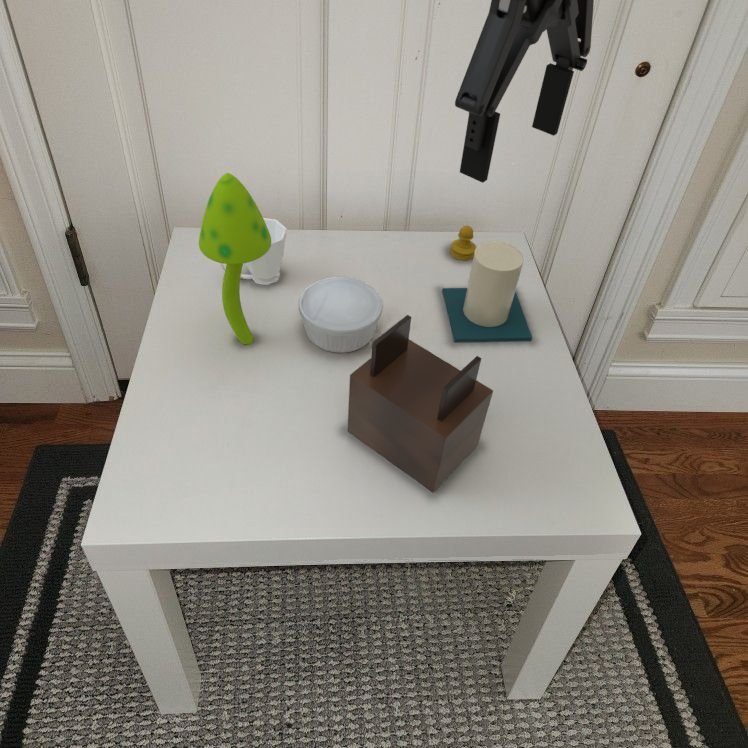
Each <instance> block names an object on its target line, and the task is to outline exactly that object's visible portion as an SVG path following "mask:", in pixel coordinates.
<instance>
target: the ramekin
mask: <svg viewBox="0 0 748 748" xmlns="http://www.w3.org/2000/svg"><path fill="white" fill-rule="evenodd" d="M297 306H298V312H299V315H300V318H301V319H302V323H303V327H304V330H305V333H306V336H307V337H308V338H309V340H310V341H311V342H312V343H313V344H314V345H316V347H318V348H320V349H322V350H324V351H326V352H327V351H328V352H331V353H341V354H343V353H350V352H354V351H357V350H359V349H361V348H364V346H367V344H369V343H370V341H372V339H373V337H374V336H375V333H376V330H377V327H378V324H379V321H380V320H381V318H382V315H383V310H384V303H383V300H382V296H381V295H380V293H379V292H378V290H376V289H375V288H374V287H373V286H372V285H370V284H369V283H366V282H365V281H362V280H361V279H356V278H354V277H353V278H352V277H346V276H331V277H326V278H322V279H320V280H316V281H315V282H313V283H311V284H310V285H308V286H307V287H306V288H304V289H303V291H302V292H301V293H300V295H299V298H298V305H297Z"/></svg>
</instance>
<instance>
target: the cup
mask: <svg viewBox="0 0 748 748" xmlns="http://www.w3.org/2000/svg"><path fill="white" fill-rule="evenodd" d="M263 219H264V221H265V223H266V226H267V228H268V230H269V233H270V236H271V246H270V249H269V250H268V251H267V253H266V254H264V255H263V256H262V257H260V258H258V259H256V260H254V261H251V262H248V263H245V264H246V267H247V269H248V272H250V274H247V273H246V274H245V273H242V272H241V277H240V279H244V280H253V282H254V283H256V285H265V286H269V285H272V284H275V283H277V282H279V279H280V277H281V272H280V270H281V269H282V264H283V258H284V255H285V254H284V253H285V246H286V239H287V230H288V228H287V227H286V226H284V224H283V223H281V222H280V221H279V220H278V219H277V218H276V219H275V218H269V217H268V218H267V217H263ZM219 265H220V267H221V269H222V270H224V271H225V269H226V264H224V263H219Z"/></svg>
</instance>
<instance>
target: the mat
mask: <svg viewBox="0 0 748 748" xmlns="http://www.w3.org/2000/svg"><path fill="white" fill-rule="evenodd" d="M466 291H467V287H442V290H441V292H442V297H443V300H444V304H445V308H446V309H445V310H446V312H447V317H448V321H449V325H450V329H451V333H452V337H453V342H454V343H479V342H481V343H483V342H525V341H528V342H530V341H532V340H533V336H532V333H531V331H530V328H529V325H528V322H527V320H526V316H525V314H524V311H523V308H522V306H521V303H520V300H519V297H518V294H517V291H515V294H514V298H513V302H512V305H511V309H510V312H509V316H508V319H507V320H506V321H505V322H504V323H503V324H501V325H499V326H495V327H484V326H480V325H477V324H475V323H473V322H471V321H470V320H469V319H468V318H467V317H466V316H465V314H464V312H463V306H464V301H465V296H466Z"/></svg>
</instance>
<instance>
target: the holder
mask: <svg viewBox="0 0 748 748" xmlns="http://www.w3.org/2000/svg"><path fill="white" fill-rule="evenodd" d="M411 324H412V316H411V315H409V314H406V315H405V316H404V317H403V318H400V320H399V321H398V322H396V323H395V324H393V326H391V327H390V328H388V329H387V330H386V331H385V332H383V333H382V334H381V335H380V336H379V337H377V338H376V339H374V340H373V341H372V342H371V354H370V355H371V356H370V358H369V359H368V360H366V361H365V362H364V363H363V364H362V365H360V366H359V367H358V368H357V369H355V370H354V371H352V372H351V373H350V374H349V386H348V387H349V390H348V409H347V410H348V411H347V413H348V414H347V432H348V433H349V434H351V435H352V436H353V437H355V438H356V439H358V440H359V441H360V442H362V443H363V444H365V445H366V446H367V447H369V448H370V449H372V450H373V451H374V452H375V453H377V454H379V455H380V456H381V457H383V458H384V459H386V460H387V461H388V462H390V463H391V464H392V465H394V466H395V467H397V468H398V469H400V470H401V471H402V472H404V474H406V475H408V476H409V477H410V478H412V479H413V480H415V481H416V482H417V483H419V484H420V485H422V486H423V487H424V488H426V489H428V490H429V491H430V492H431V493H435V492H436V491H437V490H438V489H439V488H440V486H441V485H443V483H444V482H445V481H446V480H448V478H449V477H450V476H451V475H452V474H453V473H454V472H455V470H457V468H458V467H459V466H460V465H461V464H463V462H464V461H465V460H466V459H468V457H469V456H470V455H471V454H472V452H474V450H475V449H476V448H477V447H478V446H479V442H480V439H481V435H482V432H483V428H484V425H485V421H486V417H487V415H488V412H489V407H490V404H491V400H492V397H493V393H494V390H493V389H492V388H490V387H488V385H485V384H483V383H482V382H480V381H478V380H477V378H478V375H479V370H480V366H481V363H482V359H483V358H482V357H480V356H479V355H476V356H475V357H474V358H473V359H472V360H471V361H470V362H468V363H467V364H466V365H465V366H464V367H463V368H462V369H459V368H457V367H456V366H454V365H452V364H451V363H449V362H448V361H446V360H444V359H442V358H440V357H439V356H437V355H436V354H434V353H432V352H431V351H430V350H427V349H426V348H424V347H423V346H421V345H419V344H418V343H416V342H414V341H413V340H411V339H410V333H411V332H410V331H411V326H412V325H411Z"/></svg>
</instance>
